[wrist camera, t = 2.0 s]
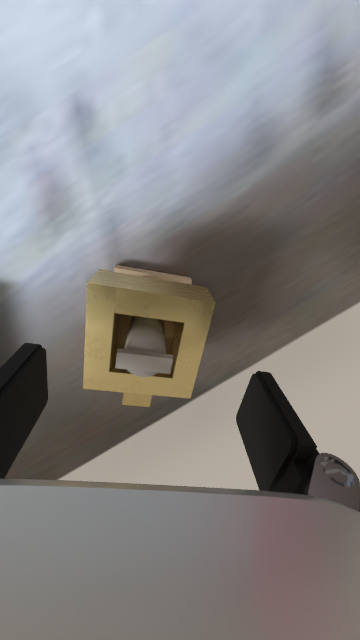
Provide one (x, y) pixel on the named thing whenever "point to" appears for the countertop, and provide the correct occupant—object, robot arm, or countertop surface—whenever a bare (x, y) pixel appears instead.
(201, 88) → the countertop surface
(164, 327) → the beige post on base
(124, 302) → the ring
